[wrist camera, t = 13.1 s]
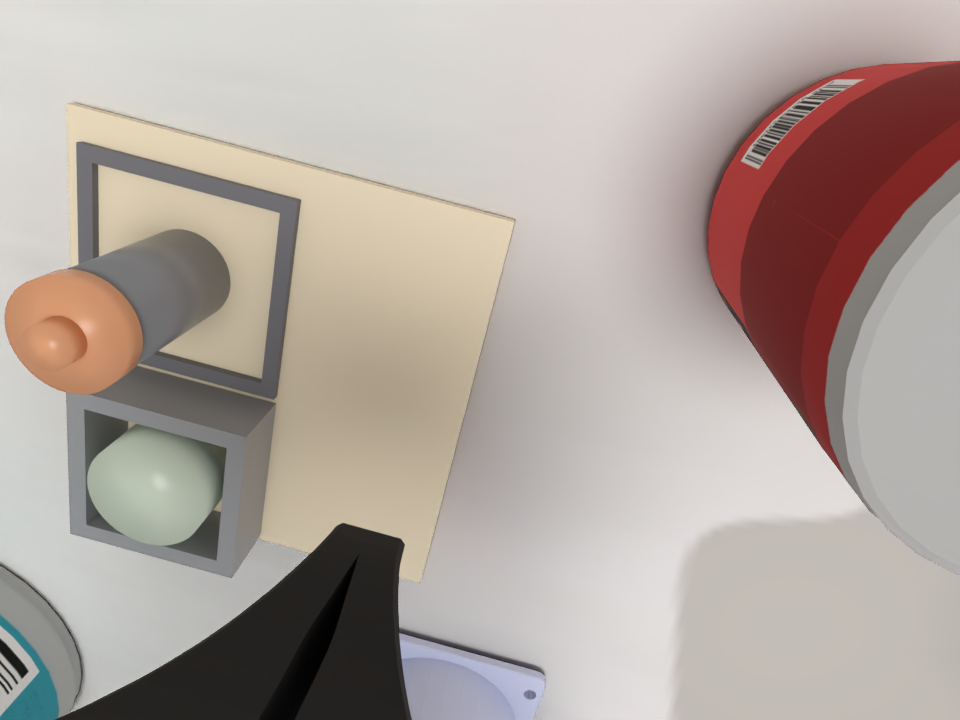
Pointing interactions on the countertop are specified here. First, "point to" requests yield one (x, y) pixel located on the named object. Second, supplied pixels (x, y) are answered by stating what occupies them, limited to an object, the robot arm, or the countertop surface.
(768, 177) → the canned food
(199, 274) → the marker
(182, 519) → the button
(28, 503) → the countertop surface
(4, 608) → the food can
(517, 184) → the countertop surface
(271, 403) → the button housing
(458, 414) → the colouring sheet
